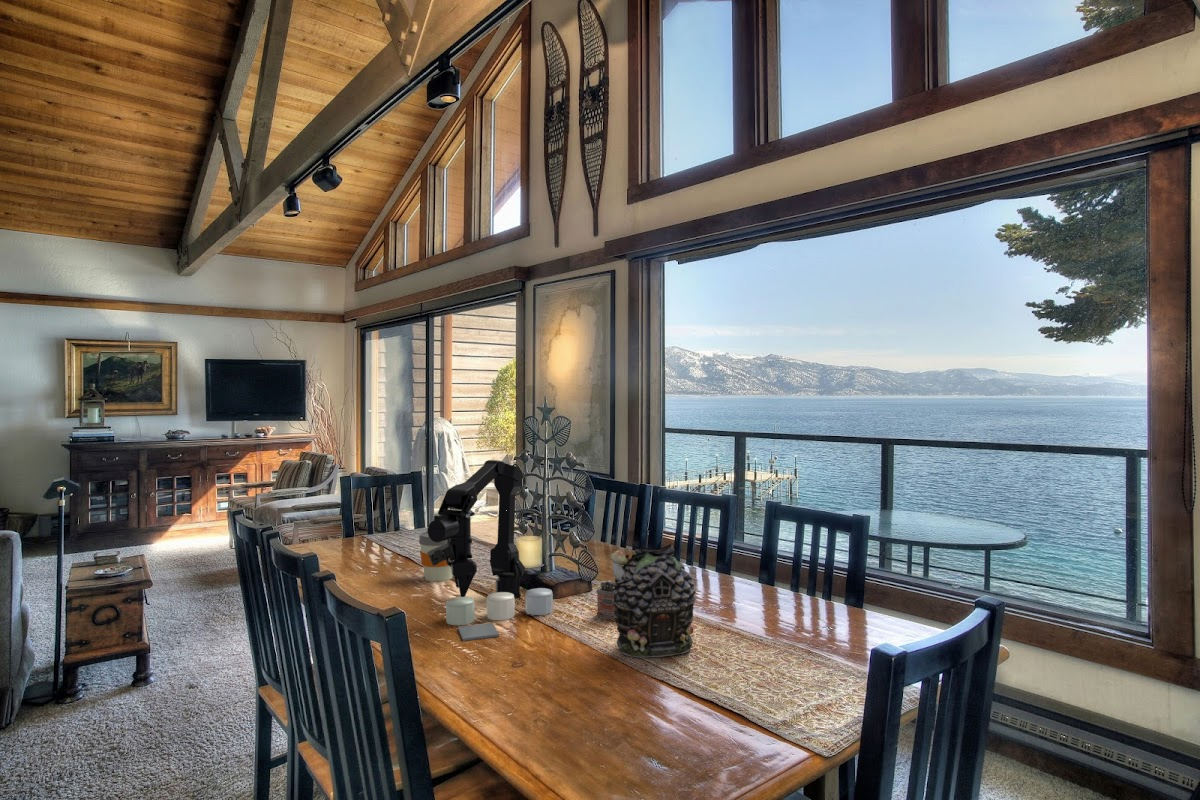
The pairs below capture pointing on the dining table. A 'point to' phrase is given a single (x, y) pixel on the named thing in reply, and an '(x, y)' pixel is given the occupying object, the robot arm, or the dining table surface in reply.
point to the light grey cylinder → (539, 601)
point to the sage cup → (460, 610)
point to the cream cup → (500, 606)
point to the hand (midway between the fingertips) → (460, 592)
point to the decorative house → (652, 603)
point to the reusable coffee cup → (431, 572)
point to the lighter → (605, 600)
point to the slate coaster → (478, 631)
